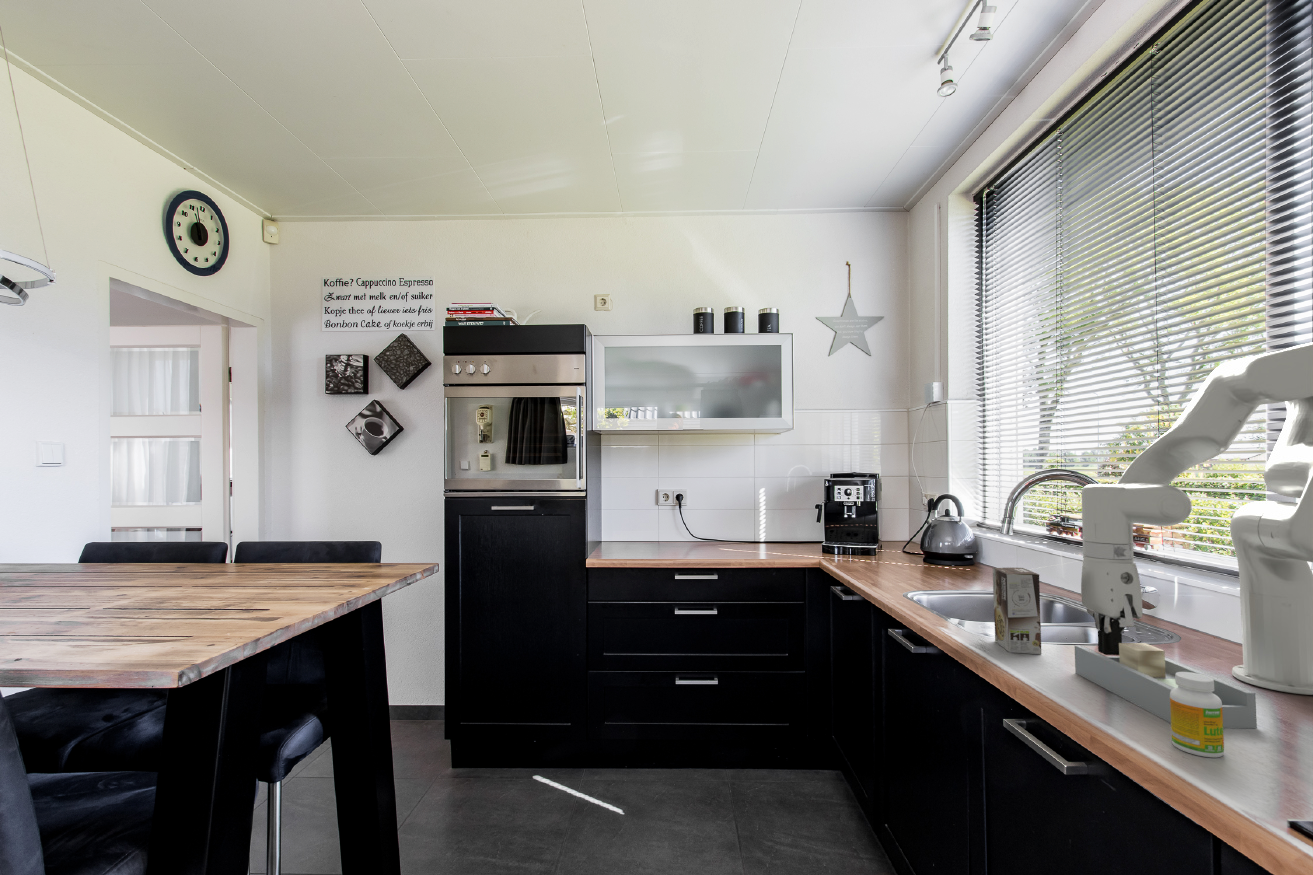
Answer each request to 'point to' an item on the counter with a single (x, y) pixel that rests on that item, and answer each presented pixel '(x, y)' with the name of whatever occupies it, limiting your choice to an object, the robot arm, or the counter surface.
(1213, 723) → the supplement bottle
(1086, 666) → the box
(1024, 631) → the coffee box
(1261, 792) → the counter surface
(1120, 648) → the block
